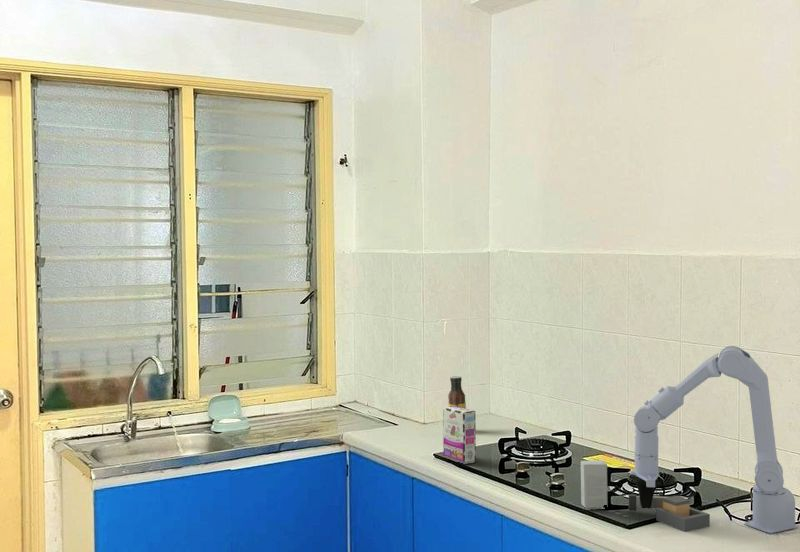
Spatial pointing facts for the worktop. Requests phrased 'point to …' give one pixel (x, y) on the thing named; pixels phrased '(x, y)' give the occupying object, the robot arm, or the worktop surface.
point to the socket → (684, 519)
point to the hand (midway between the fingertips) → (646, 507)
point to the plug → (676, 505)
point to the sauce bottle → (456, 393)
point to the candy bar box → (459, 433)
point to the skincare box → (593, 483)
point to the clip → (635, 502)
